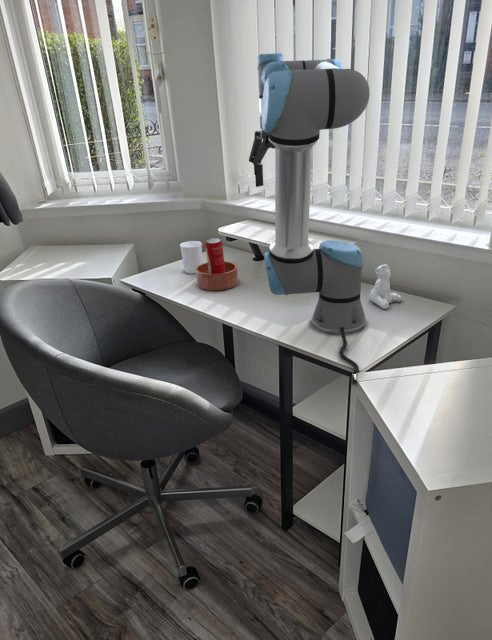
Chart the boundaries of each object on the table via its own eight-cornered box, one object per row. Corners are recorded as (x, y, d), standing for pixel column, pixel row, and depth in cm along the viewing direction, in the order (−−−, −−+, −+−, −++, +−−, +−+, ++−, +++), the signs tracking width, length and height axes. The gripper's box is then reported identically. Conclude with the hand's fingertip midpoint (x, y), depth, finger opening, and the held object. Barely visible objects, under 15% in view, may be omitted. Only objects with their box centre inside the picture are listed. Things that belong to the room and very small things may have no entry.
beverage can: (227, 279, 191) (224, 236, 183) (224, 285, 186) (221, 242, 178) (211, 279, 192) (207, 236, 184) (207, 285, 186) (203, 242, 178)
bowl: (232, 292, 182) (230, 275, 178) (192, 290, 184) (190, 273, 181) (242, 278, 193) (241, 261, 190) (204, 276, 196) (202, 260, 193)
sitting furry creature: (385, 310, 164) (388, 272, 158) (362, 303, 169) (364, 266, 163) (402, 301, 170) (406, 263, 164) (379, 294, 175) (382, 258, 169)
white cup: (179, 273, 200) (176, 246, 194) (188, 266, 206) (185, 240, 201) (199, 274, 198) (196, 247, 192) (207, 268, 204) (204, 241, 199)
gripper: (311, 114, 157) (310, 191, 168) (253, 111, 172) (256, 182, 183) (293, 116, 152) (294, 195, 164) (235, 113, 168) (239, 185, 179)
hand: (274, 188), depth 174 cm, fingers open, 13 cm apart
